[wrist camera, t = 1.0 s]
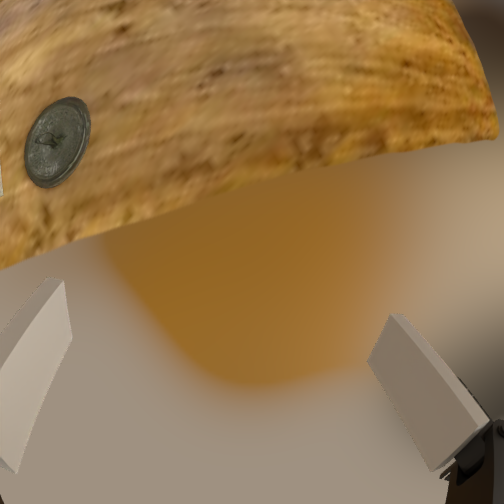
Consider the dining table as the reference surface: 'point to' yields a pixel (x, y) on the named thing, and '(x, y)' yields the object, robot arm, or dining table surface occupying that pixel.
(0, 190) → the tray
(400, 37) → the dining table surface
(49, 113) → the lid
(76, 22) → the dining table surface
